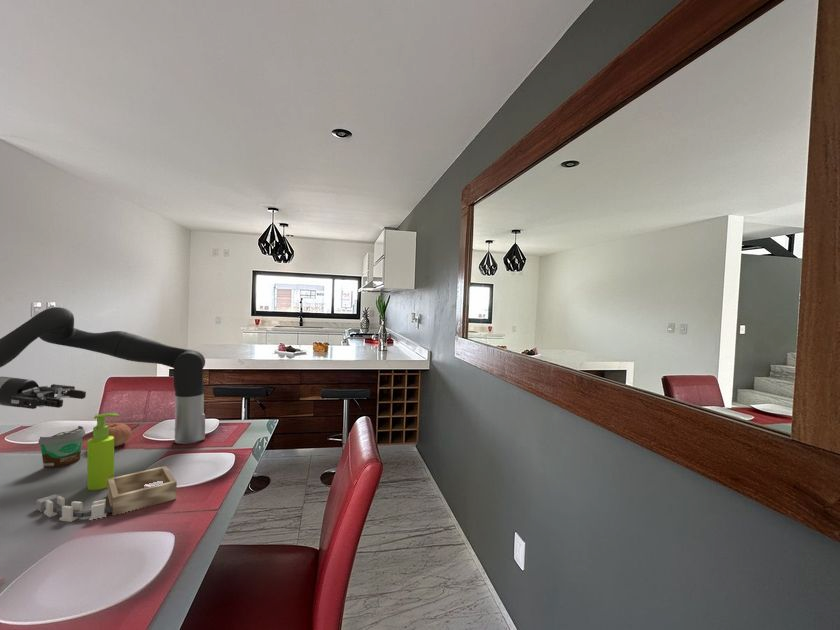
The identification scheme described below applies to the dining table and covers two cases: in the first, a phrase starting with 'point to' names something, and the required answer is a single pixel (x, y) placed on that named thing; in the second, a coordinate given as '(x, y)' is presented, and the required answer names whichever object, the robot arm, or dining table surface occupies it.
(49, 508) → the cable route
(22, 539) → the dining table surface
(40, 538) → the dining table surface
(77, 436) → the food container
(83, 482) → the dining table surface
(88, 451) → the soap dispenser
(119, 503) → the open square wooden frame
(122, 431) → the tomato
